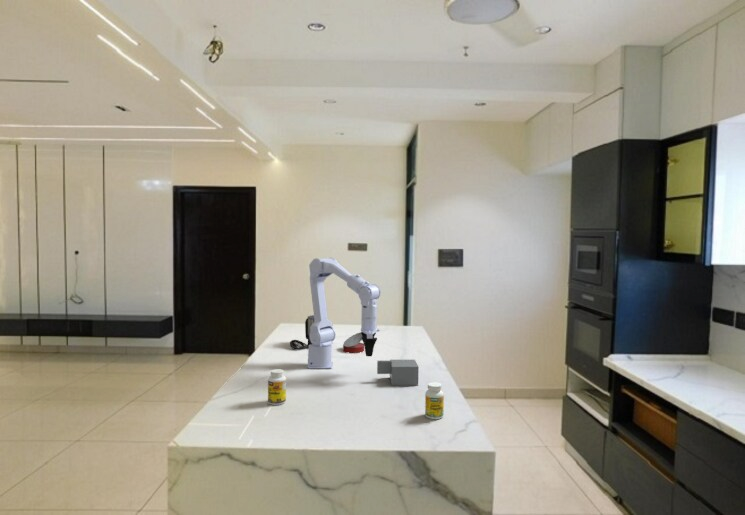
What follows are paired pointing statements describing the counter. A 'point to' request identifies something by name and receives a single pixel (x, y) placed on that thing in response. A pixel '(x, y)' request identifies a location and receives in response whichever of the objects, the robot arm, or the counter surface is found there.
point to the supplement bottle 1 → (276, 387)
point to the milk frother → (308, 324)
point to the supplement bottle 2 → (434, 401)
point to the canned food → (354, 344)
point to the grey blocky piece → (400, 371)
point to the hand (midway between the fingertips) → (368, 353)
